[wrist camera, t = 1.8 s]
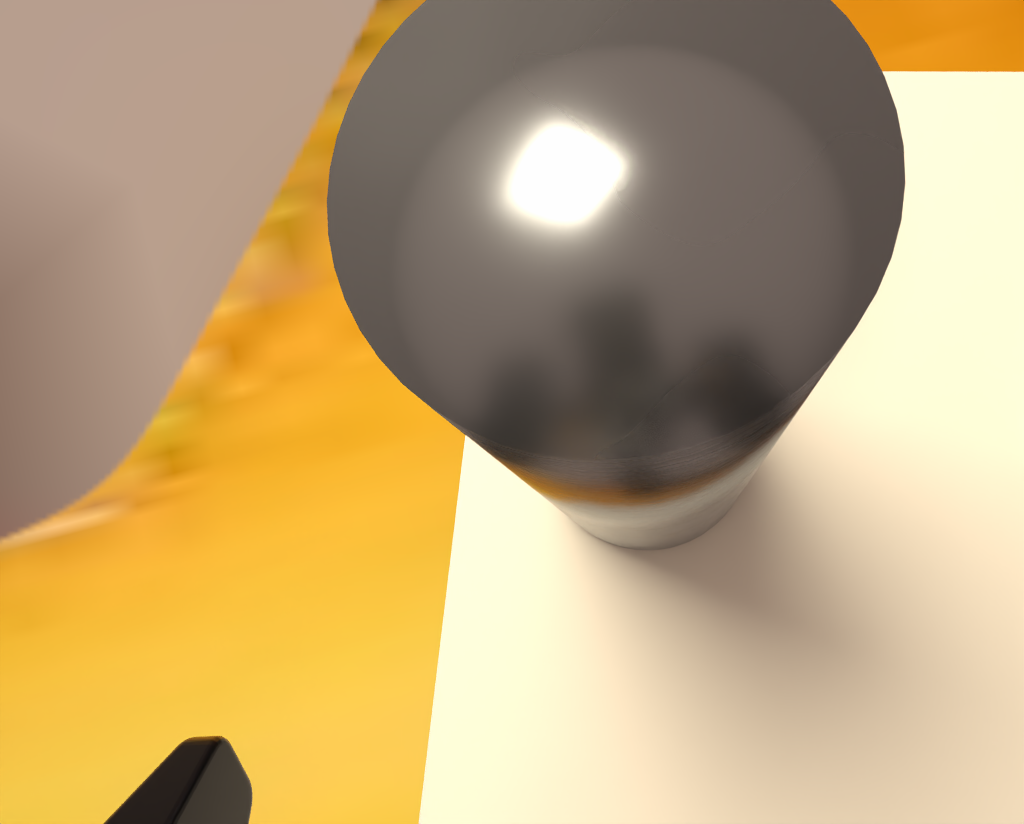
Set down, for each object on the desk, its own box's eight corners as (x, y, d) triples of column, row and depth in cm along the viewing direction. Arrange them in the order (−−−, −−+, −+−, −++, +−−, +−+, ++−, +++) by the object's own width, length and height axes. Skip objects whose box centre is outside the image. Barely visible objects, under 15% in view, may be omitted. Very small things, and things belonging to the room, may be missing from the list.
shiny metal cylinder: (742, 560, 19) (897, 486, 6) (534, 539, 19) (287, 434, 7) (755, 356, 19) (913, -85, 7) (554, 344, 20) (367, -71, 8)
